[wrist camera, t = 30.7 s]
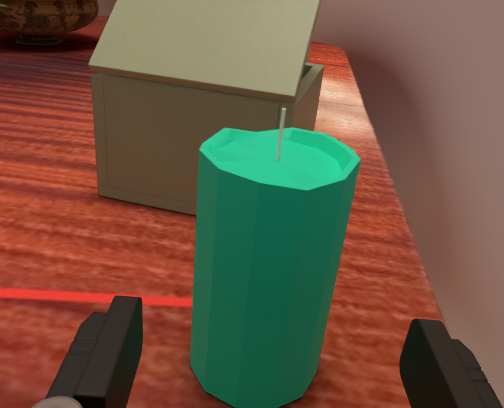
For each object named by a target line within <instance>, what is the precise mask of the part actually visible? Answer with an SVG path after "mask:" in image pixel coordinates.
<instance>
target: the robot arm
mask: <svg viewBox="0 0 504 408" xmlns="http://www.w3.org/2000/svg"><path fill="white" fill-rule="evenodd" d="M142 344H143V320H142V299H141V297H129V296H115V297H114V299H113V301H112V303H111V306H110V308H109V310H108V313H101V312H94V313H93V314H92V315H91V316H89V317H88V318H87V319H86V320H85V321H84V322H83V323H82V324H81V325H80V327H79V329H78V331H77V334H76V336H75V338H74V341H73V342H72V344H71V346H70V348H69V352H68V353H67V354H66V356H65V359H64V361H63V363H62V365H61V367H60V369H59V371H58V373H57V375H56V377H55V379H54V381H53V384H52V386H51V388H50V390H49V392H48V394H47V396H46V398H45V399H44V400H42V401H40V402H38V403H37V404H35V405H34V406H32V407H31V408H126V405H127V402H128V398H129V395H130V391H131V388H132V385H133V381H134V378H135V374H136V371H137V367H138V364H139V361H140V357H141V351H142ZM400 376H401V379H402V382H403V385H404V388H405V391H406V394H407V397H408V399H409V402H410V405H411V408H503V407H502V405H501V403H500V402H499V400H498V398H497V396H496V394H495V392H494V391H493V389H492V387H491V385H490V384H489V383H488V380H487V378H486V376H485V374H484V373H483V371H481V367H480V365H479V364H478V362H477V360H476V358H475V356H474V355H473V353H472V352H471V351H470V350H469V349H468V348H467V347H466V346H465V345H464V344H463V343H461V341H459V340H457V339H451V338H450V336H449V334H448V332H447V330H446V328H445V326H444V324H443V323H442V322H441V321H439V320H426V319H413V320H412V322H411V324H410V328H409V331H408V334H407V337H406V340H405V344H404V347H403V350H402V353H401V357H400Z"/></svg>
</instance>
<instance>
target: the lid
mask: <svg viewBox="0 0 504 408" xmlns="http://www.w3.org/2000/svg"><path fill="white" fill-rule="evenodd" d="M321 1H322V0H117V2H116V4H115V6H114V8H113V11H112V13H111V15H110V17H109V19H108V22H107V24H106V26H105V28H104V31H103V33H102V35H101V37H100V39H99V42H98V44H97V46H96V48H95V50H94V53H93V55H92V57H91V59H90V61H89V64H88V66H89V67H90V69H91V70H92V72H95V73H102V74H108V75H115V76H121V77H127V78H134V79H140V80H147V81H153V82H159V83H166V84H172V85H179V86H185V87H191V88H198V89H204V90H211V91H217V92H223V93H230V94H236V95H243V96H249V97H255V98H262V99H268V100H275V101H281V102H287V103H295V102H296V98H297V94H298V90H299V86H300V82H301V79H302V75H303V71H304V67H305V63H306V59H307V55H308V51H309V48H310V44H311V40H312V36H313V32H314V28H315V24H316V20H317V17H318V12H319V9H320V5H321Z"/></svg>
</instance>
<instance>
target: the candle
mask: <svg viewBox="0 0 504 408" xmlns="http://www.w3.org/2000/svg"><path fill="white" fill-rule="evenodd" d="M285 113H286V109H285V108H282V113H281V121H280V129H276V130H268V131H260V132H253V131H246V130H238V129H231V128H223V129H222V130H220V131H219V132H218V133H216V134H215V135H213V136H212V137H211V138H209V139H208V140H206V141H205V142H204V143H202V145H201V147H200V149H199V166H198V190H197V213H196V237H195V261H194V285H193V308H192V332H191V356H190V367H191V369H192V370H193V372H194V374H195V375H196V377H197V379H198V380H199V382H200V384H201V385H202V387H203V389H204V391H206V392H208V393H209V394H211V395H213V396H215V397H217V398H218V399H220V400H222V401H224V402H226V403H228V404H229V405H231V406H233V407H235V408H278V407H280V406H283V405H285V404H287V403H289V402H292V401H294V400H296V399H298V398H301V397H303V395H304V393H305V392H306V390H307V388H308V387H309V385H310V383H311V382H312V380H313V378H314V377H315V375H316V372H317V367H318V363H319V358H320V353H321V348H322V343H323V339H324V334H325V329H326V324H327V319H328V315H329V310H330V305H331V300H332V295H333V291H334V286H335V281H336V276H337V272H338V267H339V262H340V257H341V252H342V248H343V243H344V238H345V233H346V228H347V224H348V219H349V214H350V209H351V204H352V200H353V195H354V190H355V185H356V180H357V176H358V171H359V166H360V161H361V159H360V158H359V156H358V155H357V154H356V153H355V152H354V150H353V149H352V148H350V147H348V146H347V145H345V144H343V143H342V142H340V141H338V140H336V139H335V138H333V137H331V136H330V135H328V134H324V133H319V132H314V131H309V130H304V129H299V128H294V127H292V128H284V121H285Z"/></svg>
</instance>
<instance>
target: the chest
mask: <svg viewBox="0 0 504 408" xmlns="http://www.w3.org/2000/svg"><path fill="white" fill-rule="evenodd" d="M323 70H324V65H318V64H312V63H305V67H304V71H303V75H302V79H301V82H300V86H299V90H298V94H297V98H296V102H295V103H287V102H281V101H275V100H268V99H262V98H255V97H249V96H243V95H236V94H230V93H223V92H217V91H211V90H204V89H198V88H191V87H185V86H179V85H172V84H166V83H159V82H153V81H147V80H140V79H134V78H127V77H121V76H115V75H108V74H102V73H98V74H95V75H92V76H91V86H92V102H93V117H94V133H95V149H96V165H97V181H98V195H100V196H104V197H109V198H114V199H119V200H124V201H128V202H133V203H138V204H143V205H148V206H152V207H157V208H162V209H167V210H171V211H176V212H181V213H186V214H191V215H195V216H196V213H197V190H198V166H199V149H200V147H201V145H202V143H204V142H205V141H206V140H208V139H209V138H211V137H212V136H213V135H215V134H216V133H218V132H219V131H220V130H222V129H223V128H231V129H238V130H246V131H253V132H260V131H268V130H276V129H280V121H281V113H282V108H285V109H286V113H285V121H284V128H292V127H294V128H299V129H304V130H309V131H314V128H315V121H316V115H317V108H318V102H319V96H320V89H321V83H322V76H323Z"/></svg>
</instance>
